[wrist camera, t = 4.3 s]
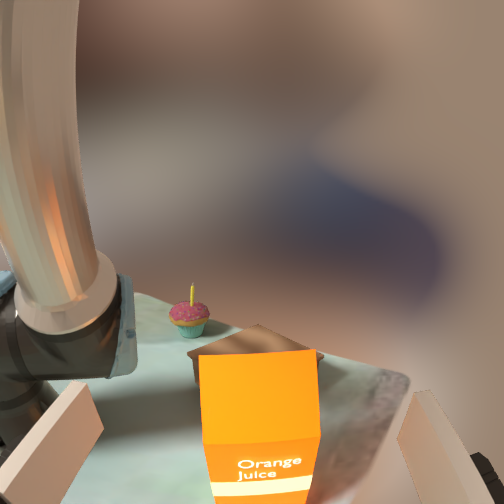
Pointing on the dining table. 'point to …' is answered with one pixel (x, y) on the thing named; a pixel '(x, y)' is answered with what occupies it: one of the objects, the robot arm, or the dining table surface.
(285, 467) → the orange juice
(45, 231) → the robot arm
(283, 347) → the walnut riser
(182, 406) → the dining table surface
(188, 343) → the dining table surface
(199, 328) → the cupcake
